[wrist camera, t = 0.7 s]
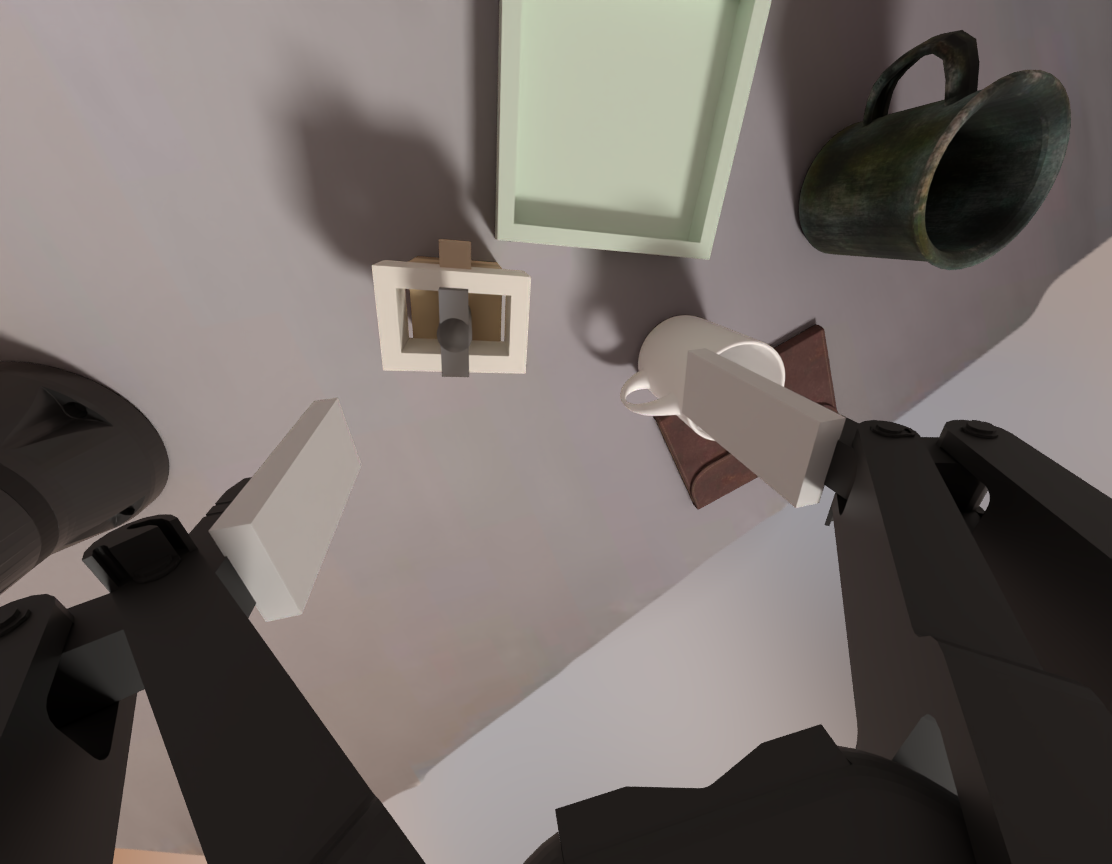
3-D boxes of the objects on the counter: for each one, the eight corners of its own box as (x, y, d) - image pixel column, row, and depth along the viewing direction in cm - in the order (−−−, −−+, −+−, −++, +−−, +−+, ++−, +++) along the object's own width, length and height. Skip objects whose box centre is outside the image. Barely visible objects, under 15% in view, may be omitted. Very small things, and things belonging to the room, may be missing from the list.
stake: (422, 334, 35) (400, 386, 24) (417, 255, 32) (390, 272, 21) (495, 337, 36) (507, 388, 25) (496, 262, 33) (512, 281, 22)
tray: (495, 238, 33) (497, 239, 30) (500, -82, 25) (504, -119, 22) (691, 257, 36) (709, 259, 34) (752, -15, 28) (781, -39, 26)
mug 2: (797, 278, 40) (915, 297, 29) (776, 108, 32) (924, 52, 22) (897, 226, 39) (1054, 227, 29) (899, 42, 32) (1108, -47, 21)
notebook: (651, 414, 44) (659, 422, 42) (812, 323, 43) (826, 327, 41) (691, 502, 51) (699, 512, 50) (829, 426, 50) (842, 433, 48)
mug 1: (594, 344, 39) (634, 382, 29) (707, 299, 39) (784, 323, 29) (615, 417, 43) (656, 471, 33) (717, 377, 43) (787, 418, 34)
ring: (393, 353, 29) (383, 370, 26) (381, 233, 26) (368, 234, 22) (519, 357, 31) (525, 373, 28) (524, 246, 28) (532, 249, 24)
